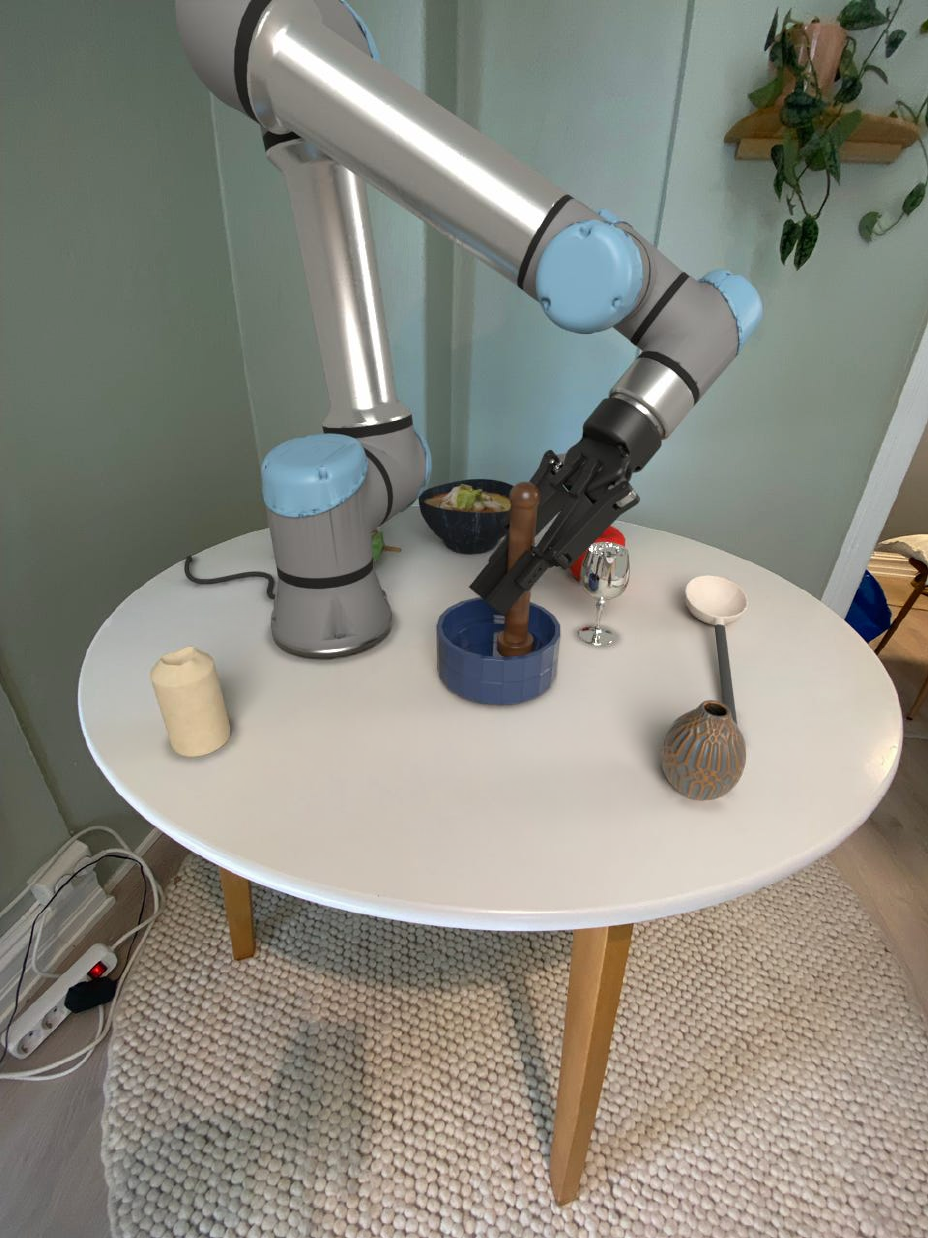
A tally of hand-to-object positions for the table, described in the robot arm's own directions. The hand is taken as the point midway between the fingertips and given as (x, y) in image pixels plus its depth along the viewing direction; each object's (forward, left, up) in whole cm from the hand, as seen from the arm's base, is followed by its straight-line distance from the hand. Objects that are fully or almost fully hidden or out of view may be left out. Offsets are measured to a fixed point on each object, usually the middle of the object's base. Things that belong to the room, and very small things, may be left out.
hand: (486, 601), depth 61 cm
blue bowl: (0, +3, -11) cm, 11 cm away
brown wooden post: (+2, +3, -7) cm, 8 cm away
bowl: (-18, +36, -11) cm, 42 cm away
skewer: (-35, +21, -11) cm, 42 cm away
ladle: (+23, +18, -11) cm, 31 cm away
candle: (-22, -20, -11) cm, 32 cm away
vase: (+23, -5, -11) cm, 26 cm away
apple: (+3, +32, -11) cm, 34 cm away
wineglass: (+9, +16, -11) cm, 22 cm away
